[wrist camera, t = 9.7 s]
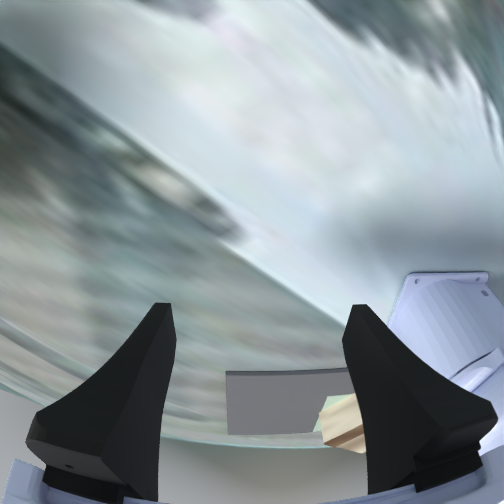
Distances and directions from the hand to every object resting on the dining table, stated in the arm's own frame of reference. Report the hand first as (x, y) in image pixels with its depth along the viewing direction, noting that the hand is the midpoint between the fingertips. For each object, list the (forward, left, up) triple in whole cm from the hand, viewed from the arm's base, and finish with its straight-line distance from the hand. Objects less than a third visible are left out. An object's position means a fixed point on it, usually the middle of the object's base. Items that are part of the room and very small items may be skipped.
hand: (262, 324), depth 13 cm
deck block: (-13, +24, -9) cm, 29 cm away
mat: (-8, +22, -9) cm, 25 cm away
